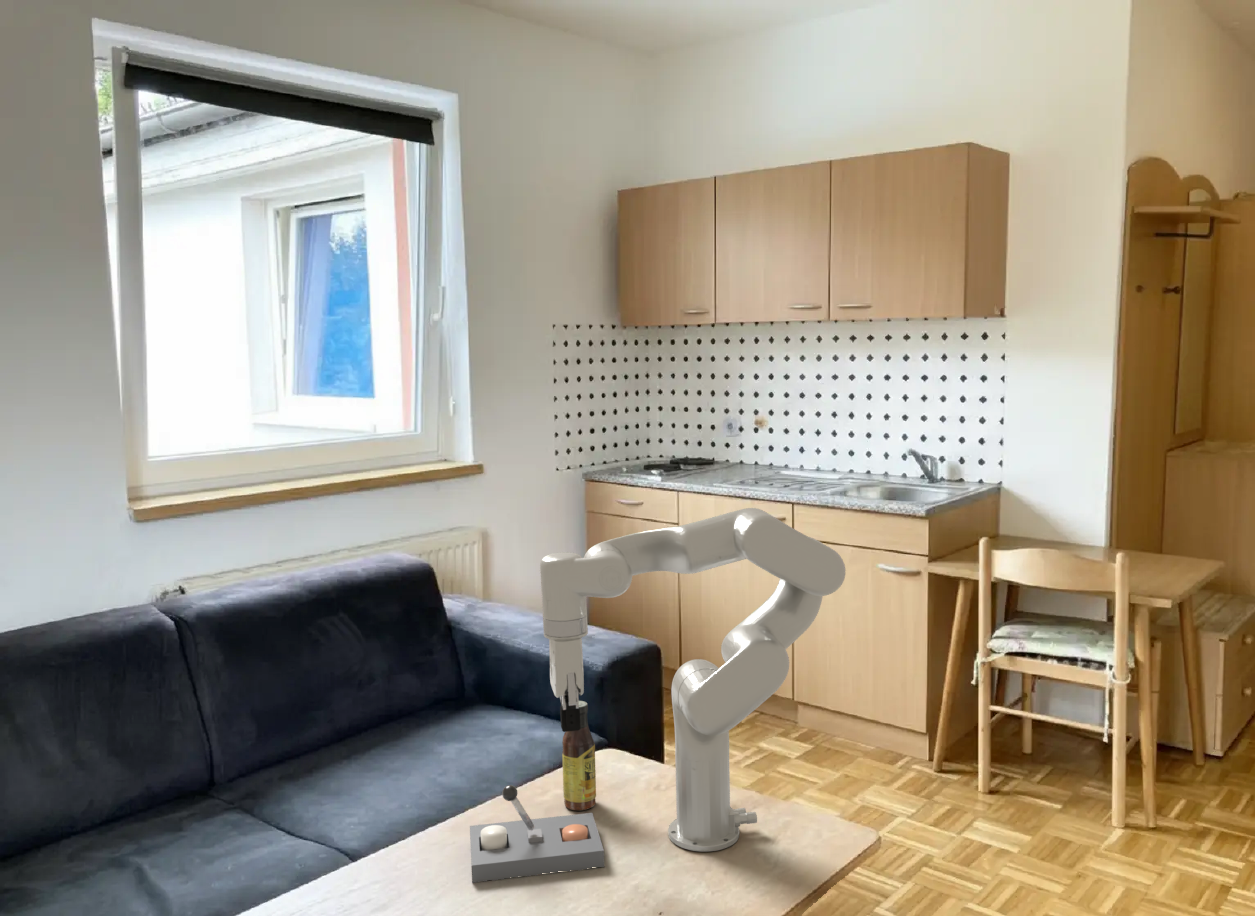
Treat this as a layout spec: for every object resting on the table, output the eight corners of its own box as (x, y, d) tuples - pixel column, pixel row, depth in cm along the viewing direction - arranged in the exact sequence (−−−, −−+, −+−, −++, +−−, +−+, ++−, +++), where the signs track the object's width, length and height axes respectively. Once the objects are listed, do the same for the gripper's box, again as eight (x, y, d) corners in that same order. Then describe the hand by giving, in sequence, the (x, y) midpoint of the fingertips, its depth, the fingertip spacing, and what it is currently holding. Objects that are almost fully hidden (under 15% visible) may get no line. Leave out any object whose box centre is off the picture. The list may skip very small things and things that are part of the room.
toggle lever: (538, 822, 175) (512, 779, 173) (540, 829, 172) (513, 786, 170) (525, 830, 174) (499, 787, 173) (526, 837, 172) (499, 794, 170)
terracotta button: (586, 841, 178) (585, 823, 177) (589, 854, 173) (589, 834, 173) (561, 844, 177) (561, 825, 176) (564, 857, 172) (563, 837, 172)
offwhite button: (506, 843, 175) (505, 823, 175) (508, 855, 171) (507, 835, 170) (481, 845, 174) (480, 826, 174) (481, 858, 170) (481, 838, 170)
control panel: (592, 828, 183) (592, 808, 182) (604, 867, 169) (603, 845, 168) (470, 841, 179) (469, 821, 178) (472, 882, 165) (471, 860, 165)
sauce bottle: (592, 813, 188) (588, 711, 186) (560, 811, 190) (556, 709, 187) (600, 798, 195) (596, 699, 192) (568, 796, 196) (565, 697, 194)
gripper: (539, 616, 178) (544, 716, 180) (548, 640, 163) (554, 748, 165) (581, 612, 179) (586, 711, 181) (593, 636, 164) (599, 743, 167)
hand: (570, 729), depth 173 cm, fingers closed
